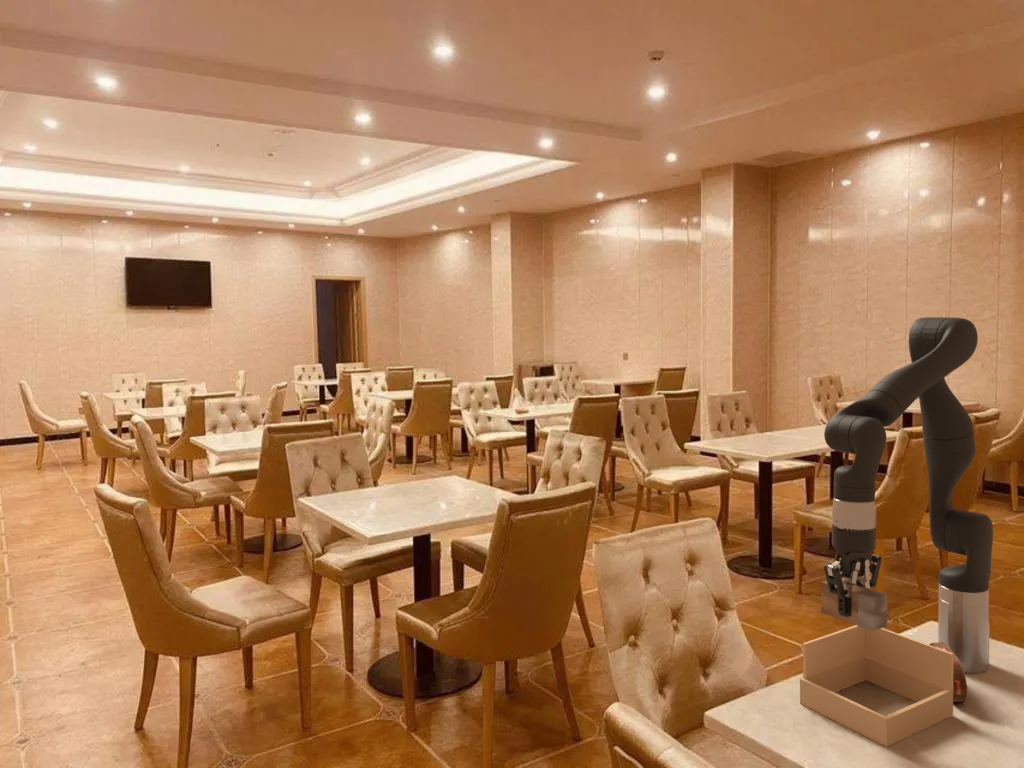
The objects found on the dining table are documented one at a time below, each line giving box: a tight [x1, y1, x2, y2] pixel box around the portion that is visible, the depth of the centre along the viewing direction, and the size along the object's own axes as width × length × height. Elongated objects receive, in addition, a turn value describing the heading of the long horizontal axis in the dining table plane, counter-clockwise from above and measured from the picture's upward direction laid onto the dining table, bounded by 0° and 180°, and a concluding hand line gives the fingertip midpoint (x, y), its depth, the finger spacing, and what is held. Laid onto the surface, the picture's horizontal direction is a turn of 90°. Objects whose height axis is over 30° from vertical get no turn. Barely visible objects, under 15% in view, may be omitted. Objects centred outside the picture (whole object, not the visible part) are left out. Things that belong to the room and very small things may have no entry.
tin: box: [928, 641, 968, 703], centre depth 155 cm, size 15×3×8 cm, turn 168°
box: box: [820, 580, 888, 631], centre depth 146 cm, size 4×11×6 cm, turn 30°
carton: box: [799, 625, 954, 748], centre depth 149 cm, size 20×19×12 cm
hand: (852, 612), depth 146 cm, fingers closed on box, 4 cm apart
